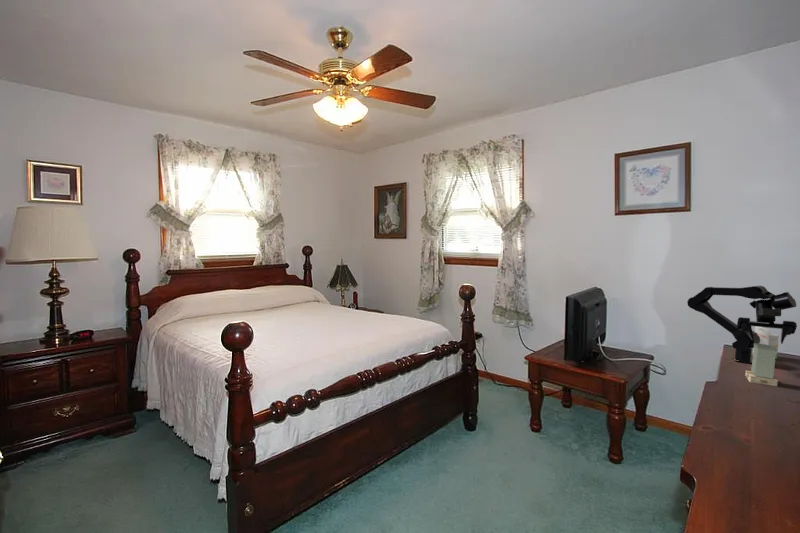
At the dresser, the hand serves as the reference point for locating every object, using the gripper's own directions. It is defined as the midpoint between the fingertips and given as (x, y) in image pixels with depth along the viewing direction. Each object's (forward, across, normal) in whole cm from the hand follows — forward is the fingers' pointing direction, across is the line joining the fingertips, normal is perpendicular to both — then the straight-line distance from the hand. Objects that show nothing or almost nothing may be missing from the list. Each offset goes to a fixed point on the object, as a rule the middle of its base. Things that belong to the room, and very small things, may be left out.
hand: (767, 341), depth 171 cm
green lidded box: (+18, -3, -2) cm, 18 cm away
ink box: (-12, +3, +32) cm, 34 cm away
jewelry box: (+20, -3, 0) cm, 20 cm away
